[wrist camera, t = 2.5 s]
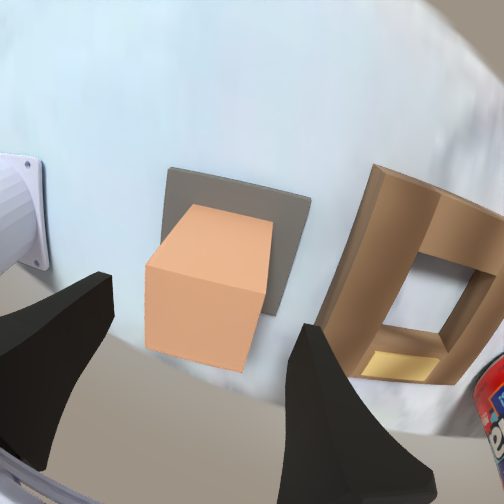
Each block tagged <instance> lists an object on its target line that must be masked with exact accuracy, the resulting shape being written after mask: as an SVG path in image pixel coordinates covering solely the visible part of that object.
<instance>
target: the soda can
mask: <svg viewBox="0 0 504 504" xmlns="http://www.w3.org/2000/svg"><path fill="white" fill-rule="evenodd" d="M473 400H474V403H475V406H476V408H477V411H478V413H479V416H480V419H481V421H482V424H483V427H484V429H485V432H486V435H487V438H488V441H489V444H490V446H491V450H492V453H493V456H494V459H495V462H496V465H497V469H498V472H499V476H500V480H501V483H502V487H503V491H504V354H503V355H501V356H500V357H499V358H498V359H496V360H495V361H494V362H493V363H492V364H491V365H490V366H489V367H488V369H487V370H486V371H485V373H484V374H483V375H482V377H481V378H480V379H479V381H478V383H477V385H476V386H475V389H474V392H473Z"/></svg>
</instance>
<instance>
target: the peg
mask: <svg viewBox="0 0 504 504" xmlns="http://www.w3.org/2000/svg"><path fill="white" fill-rule="evenodd" d="M272 229H273V222H270V221H266V220H262V219H258V218H253V217H249V216H245V215H240V214H236V213H231V212H227V211H223V210H218V209H214V208H209V207H205V206H200V205H195V204H193V205H192V206H191V207H190V208H189V210H188V211H187V212H186V213H185V215H184V216H183V217H182V218H181V219H180V221H179V222H178V223H177V225H176V226H175V227H174V228H173V230H172V231H171V232H170V233H169V235H168V236H167V237H166V239H165V240H164V241H163V242H162V244H161V245H160V246H159V248H158V249H157V250H156V252H155V253H154V254H153V255H152V257H151V258H150V259H149V261H148V262H147V263H146V265H145V348H147V349H150V350H154V351H157V352H161V353H164V354H168V355H171V356H175V357H178V358H182V359H186V360H190V361H193V362H197V363H201V364H205V365H209V366H213V367H218V368H222V369H226V370H231V371H235V372H240V373H242V372H243V369H244V365H245V362H246V359H247V355H248V352H249V349H250V346H251V342H252V339H253V336H254V332H255V329H256V326H257V322H258V319H259V315H260V312H261V309H262V305H263V302H264V298H265V295H266V287H267V278H268V268H269V258H270V249H271V239H272Z"/></svg>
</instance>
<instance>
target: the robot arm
mask: <svg viewBox="0 0 504 504" xmlns="http://www.w3.org/2000/svg"><path fill="white" fill-rule="evenodd" d="M29 163H30V166H29ZM17 261H18V262H21V263H23V264H26V265H29V266H31V267H34V268H37V269H39V270H42V271H46V270H47V269H48V268H49V258H48V250H47V242H46V233H45V222H44V209H43V191H42V162H41V160H40V159H39V157H35V156H27V155H19V154H10V153H0V275H2V274H3V273H4V272H5V271H6V270H7V269H9V268H10V267H11V266H12V265H13V264H14V263H16V262H17ZM114 317H115V314H114V302H113V286H112V275H109V274H106V273H102V272H99V271H98V272H96V273H94V274H91V275H89V276H88V277H86V278H84V279H82V280H80V281H78V282H76V283H74V284H72V285H71V286H69V287H67V288H65V289H63V290H61V291H59V292H57V293H55V294H53V295H52V296H49V297H47V298H45V299H43V300H41V301H39V302H37V303H35V304H33V305H31V306H28V307H26V308H23V309H21V310H18V311H16V312H13V313H10V314H7V315H4V316H1V317H0V504H46V503H44V502H43V501H42V500H41V499H40V498H38V497H36V496H35V495H33V494H32V493H30V492H29V491H27V490H26V489H24V488H23V487H21V484H20V482H22V483H23V484H25V485H26V486H28V487H30V488H31V489H33V490H35V491H36V492H38V493H40V494H41V495H43V496H45V497H47V498H49V499H50V500H52V501H54V502H56V503H58V504H103V503H100V502H98V501H95V500H93V499H91V498H89V497H87V496H84V495H82V494H80V493H77V492H76V491H74V490H72V489H69V488H68V487H66V486H64V485H61V484H60V483H58V482H56V481H54V480H52V479H50V478H48V477H47V476H45V475H43V474H41V473H40V471H44V470H46V467H47V461H48V458H49V454H50V450H51V446H52V442H53V439H54V436H55V433H56V430H57V427H58V424H59V421H60V418H61V416H62V413H63V411H64V408H65V406H66V403H67V401H68V399H69V396H70V394H71V392H72V390H73V388H74V386H75V384H76V382H77V380H78V378H79V377H80V375H81V374H82V372H83V370H84V369H85V367H86V366H87V364H88V363H89V361H90V360H91V358H92V356H93V355H94V353H95V352H96V350H97V349H98V347H99V346H100V344H101V342H102V341H103V339H104V338H105V336H106V334H107V332H108V330H109V328H110V325H111V323H112V321H113V319H114ZM285 410H286V440H285V452H284V461H283V469H282V476H281V482H280V489H279V494H278V499H277V504H429V503H431V502H432V501H433V500H435V498H436V497H437V489H436V483H435V478H434V474H433V471H432V470H431V469H430V468H428V467H427V466H426V465H424V464H423V463H422V462H420V461H419V460H418V459H416V458H415V457H414V456H413V455H411V454H410V453H409V452H408V451H407V450H406V449H404V447H402V446H401V445H400V444H399V443H398V442H397V441H396V440H395V439H394V438H393V437H392V436H391V435H390V434H389V433H388V432H387V431H386V430H385V428H384V427H383V426H382V425H381V424H380V423H379V422H378V421H377V419H376V418H375V417H374V416H373V415H372V413H371V412H370V411H369V409H368V408H367V407H366V405H365V404H364V403H363V402H362V400H361V399H360V397H359V396H358V394H357V393H356V391H355V390H354V388H353V387H352V385H351V383H350V382H349V380H348V378H347V377H346V375H345V373H344V371H343V370H342V368H341V366H340V364H339V362H338V361H337V359H336V357H335V355H334V353H333V351H332V349H331V347H330V345H329V343H328V341H327V339H326V337H325V335H324V333H323V331H322V329H321V327H320V326H316V325H311V324H306V323H304V324H303V327H302V329H301V332H300V334H299V336H298V339H297V341H296V343H295V346H294V348H293V351H292V353H291V355H290V357H289V360H288V365H287V374H286V383H285ZM18 480H19V481H20V482H19V481H18Z"/></svg>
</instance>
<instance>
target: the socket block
mask: <svg viewBox="0 0 504 504" xmlns="http://www.w3.org/2000/svg"><path fill="white" fill-rule="evenodd" d="M418 252H421V253H425V254H428V255H431V256H435V257H438V258H441V259H445V260H448V261H451V262H454V263H458V264H461V265H464V266H467V267H470V268H474V269H476V270H475V272H474V274H473V276H472V278H471V280H470V282H469V283H468V285H467V287H466V289H465V291H464V293H463V294H462V296H461V298H460V300H459V301H458V303H457V305H456V306H455V308H454V310H453V312H452V313H451V315H450V316H449V318H448V320H447V321H446V323H445V325H444V326H443V328H442V329H441V331H440V332H439V334H436V333H430V332H424V331H418V330H412V329H406V328H400V327H394V326H389V325H383V324H382V323H383V321H384V319H385V317H386V315H387V314H388V312H389V310H390V308H391V306H392V304H393V302H394V300H395V299H396V297H397V295H398V293H399V291H400V289H401V287H402V285H403V283H404V281H405V279H406V277H407V275H408V273H409V270H410V268H411V266H412V264H413V262H414V260H415V258H416V255H417V253H418ZM503 319H504V217H503V216H501V215H499V214H497V213H495V212H493V211H491V210H489V209H487V208H484V207H482V206H480V205H478V204H476V203H473V202H471V201H469V200H467V199H464V198H462V197H460V196H457V195H455V194H453V193H450V192H448V191H446V190H443V189H441V188H438V187H436V186H433V185H431V184H428V183H426V182H423V181H420V180H418V179H415V178H412V177H410V176H407V175H404V174H402V173H399V172H396V171H393V170H390V169H387V168H384V167H381V166H378V165H375V164H373V167H372V170H371V174H370V177H369V180H368V183H367V186H366V189H365V192H364V195H363V198H362V201H361V204H360V207H359V210H358V213H357V216H356V218H355V221H354V224H353V227H352V230H351V233H350V235H349V238H348V241H347V243H346V246H345V249H344V251H343V254H342V257H341V259H340V262H339V265H338V267H337V270H336V272H335V275H334V277H333V280H332V282H331V285H330V287H329V290H328V292H327V295H326V297H325V300H324V302H323V304H322V307H321V309H320V312H319V314H318V316H317V319H316V321H315V323H314V325H316V326H320V327H321V329H322V331H323V333H324V335H325V337H326V339H327V341H328V343H329V345H330V347H331V349H332V351H333V353H334V355H335V357H336V359H337V361H338V362H339V364H340V366H341V368H342V370H343V371H344V373H345V375H346V376H347V377H355V378H363V379H372V380H382V381H392V382H404V383H418V384H435V385H455V384H456V383H457V382H458V381H459V379H460V378H461V377H462V376H463V374H464V373H465V372H466V371H467V369H468V368H469V367H470V366H471V364H472V363H473V362H474V360H475V359H476V358H477V356H478V355H479V354H480V352H481V351H482V350H483V348H484V347H485V346H486V344H487V343H488V341H489V340H490V338H491V337H492V336H493V334H494V333H495V331H496V330H497V328H498V327H499V325H500V324H501V322H502V320H503Z"/></svg>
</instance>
